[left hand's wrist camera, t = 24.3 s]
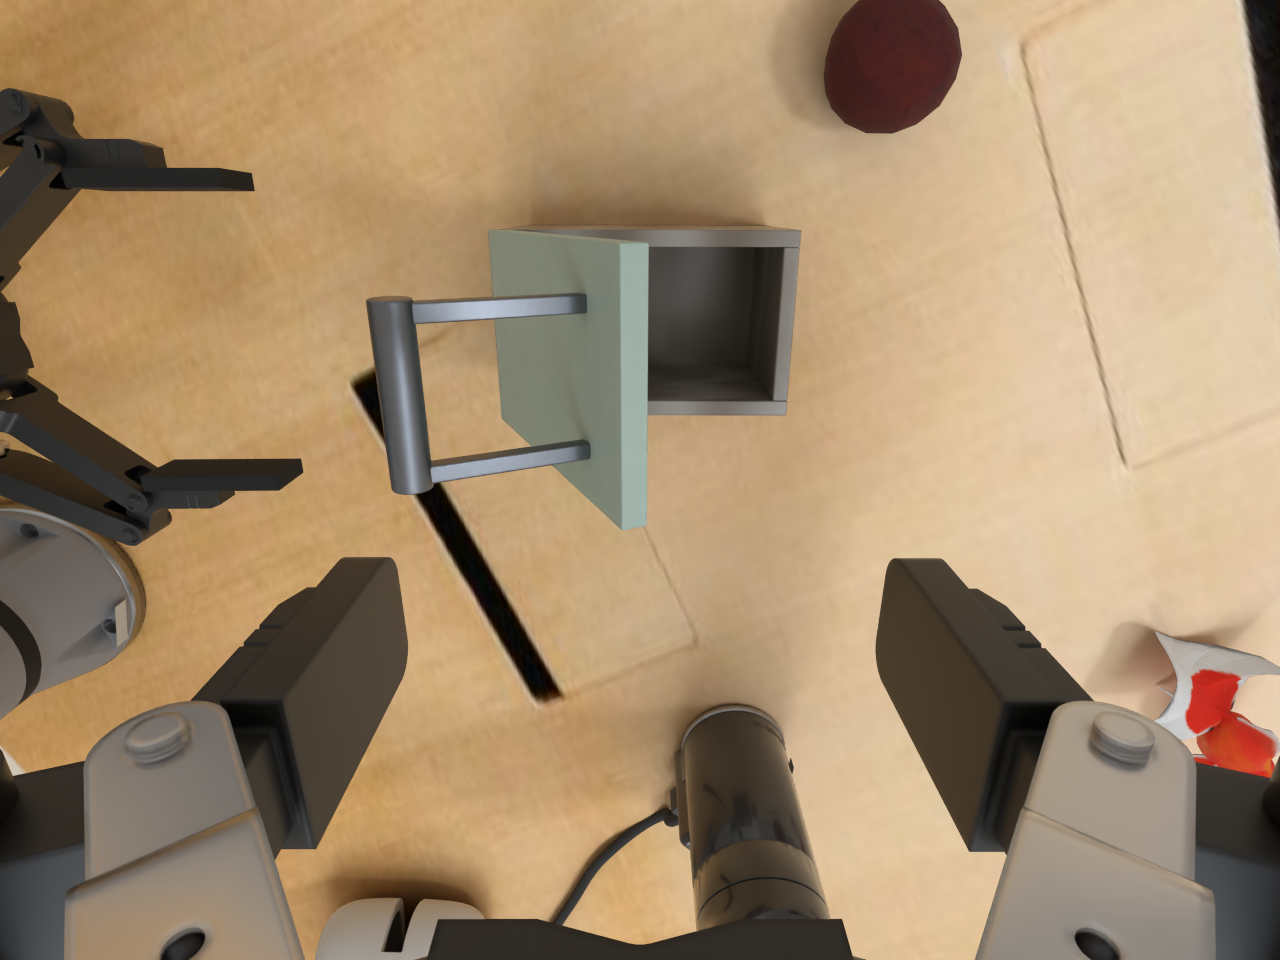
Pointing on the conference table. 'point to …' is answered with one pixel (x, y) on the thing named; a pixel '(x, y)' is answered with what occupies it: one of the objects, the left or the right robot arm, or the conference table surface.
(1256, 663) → the white red irregular piece
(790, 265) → the chest
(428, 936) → the grey lobed block
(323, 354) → the conference table surface
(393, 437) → the lid
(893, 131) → the potato
